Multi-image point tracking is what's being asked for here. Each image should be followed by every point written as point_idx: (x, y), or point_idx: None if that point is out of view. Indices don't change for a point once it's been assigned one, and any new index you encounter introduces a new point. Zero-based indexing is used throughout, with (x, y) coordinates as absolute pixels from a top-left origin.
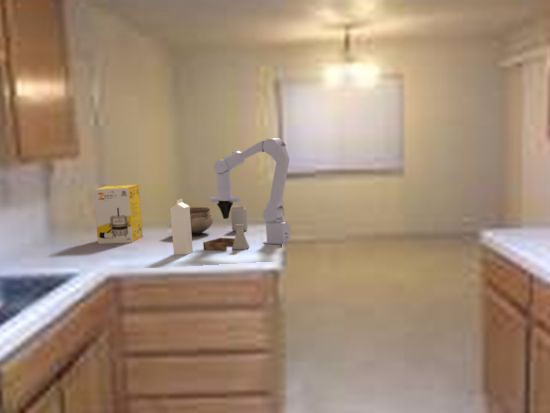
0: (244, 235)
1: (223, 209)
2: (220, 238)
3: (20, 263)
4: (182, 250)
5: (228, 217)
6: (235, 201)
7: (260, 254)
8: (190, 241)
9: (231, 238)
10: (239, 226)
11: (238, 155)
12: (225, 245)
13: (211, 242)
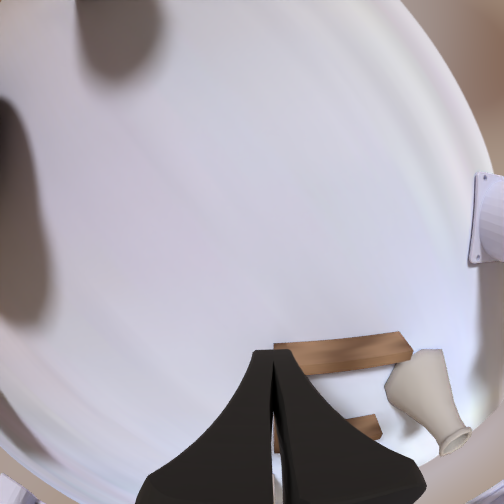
0: (452, 396)
1: (283, 484)
2: None
3: (55, 485)
4: None
5: (292, 355)
6: (487, 497)
7: (479, 398)
8: None
9: (361, 366)
10: (455, 444)
11: None
12: (378, 431)
13: None
